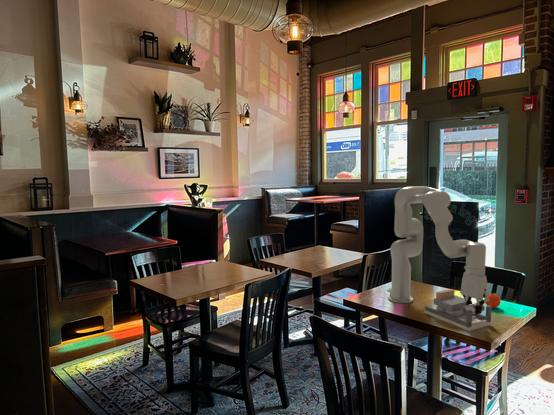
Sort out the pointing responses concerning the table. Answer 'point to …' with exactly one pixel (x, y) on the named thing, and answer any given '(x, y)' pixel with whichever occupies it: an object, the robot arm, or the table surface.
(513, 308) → the table surface
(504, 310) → the table surface
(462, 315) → the roller track
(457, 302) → the slab
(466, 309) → the loose roller
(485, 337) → the table surface
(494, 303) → the clementine
